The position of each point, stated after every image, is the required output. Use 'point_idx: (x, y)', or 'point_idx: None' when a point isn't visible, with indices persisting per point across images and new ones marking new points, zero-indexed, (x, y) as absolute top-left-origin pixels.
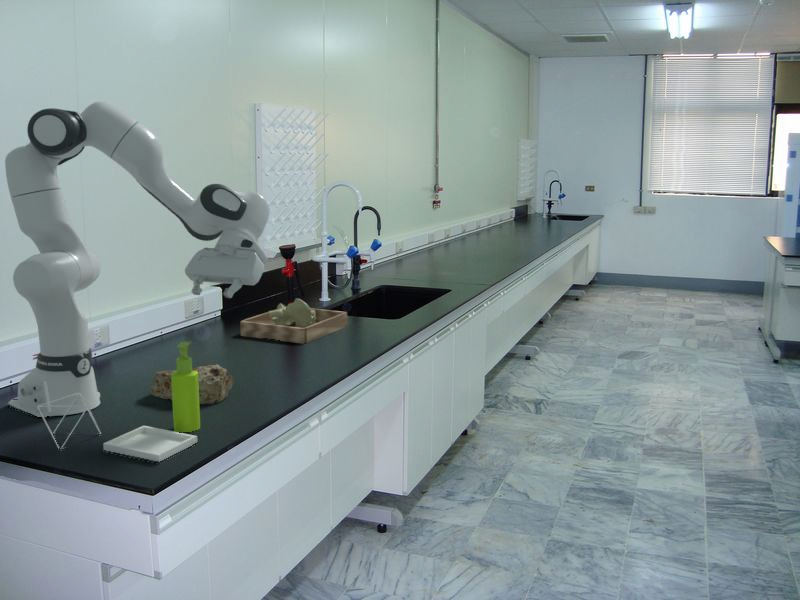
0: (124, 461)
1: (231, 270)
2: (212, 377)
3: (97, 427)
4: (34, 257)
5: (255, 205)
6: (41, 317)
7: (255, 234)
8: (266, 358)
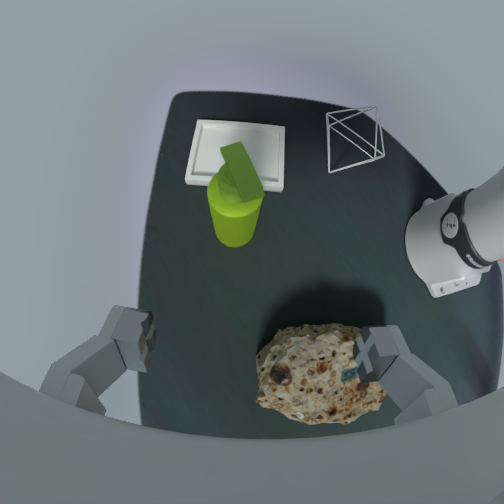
0: (240, 119)
1: (84, 466)
2: (276, 360)
3: (328, 157)
4: None
5: None
6: None
7: None
8: None
